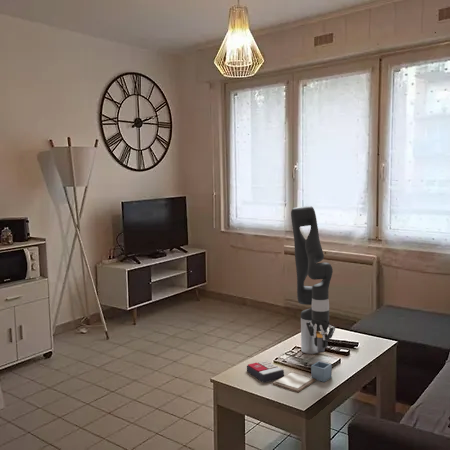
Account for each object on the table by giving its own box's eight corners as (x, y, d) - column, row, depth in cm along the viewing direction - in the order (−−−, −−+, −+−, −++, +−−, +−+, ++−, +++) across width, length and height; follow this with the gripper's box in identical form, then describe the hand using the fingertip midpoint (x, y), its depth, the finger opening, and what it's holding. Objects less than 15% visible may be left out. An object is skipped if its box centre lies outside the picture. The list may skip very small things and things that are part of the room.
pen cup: (318, 373, 224) (318, 361, 224) (331, 377, 220) (331, 364, 219) (311, 378, 219) (311, 365, 219) (324, 382, 215) (324, 369, 215)
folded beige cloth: (290, 373, 226) (290, 370, 226) (315, 380, 217) (315, 378, 217) (272, 384, 215) (272, 381, 215) (298, 392, 207) (298, 389, 207)
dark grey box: (266, 359, 235) (284, 368, 221) (267, 368, 235) (284, 378, 222) (246, 363, 230) (262, 373, 217) (246, 373, 230) (263, 383, 217)
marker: (319, 348, 221) (319, 331, 220) (326, 350, 218) (326, 332, 217) (315, 351, 218) (315, 333, 217) (322, 352, 216) (322, 335, 215)
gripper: (339, 308, 214) (339, 347, 216) (311, 303, 223) (311, 341, 225) (330, 313, 209) (330, 352, 211) (301, 307, 218) (302, 345, 220)
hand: (320, 346), depth 218 cm, fingers closed on marker, 3 cm apart
